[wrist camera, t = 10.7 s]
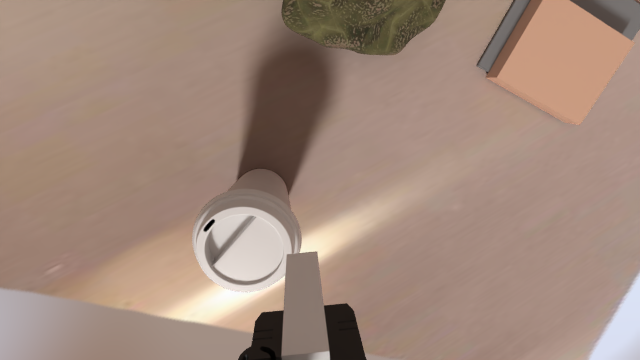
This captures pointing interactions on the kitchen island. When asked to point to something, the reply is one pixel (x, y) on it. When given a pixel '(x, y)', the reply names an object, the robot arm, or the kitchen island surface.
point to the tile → (559, 58)
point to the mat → (603, 3)
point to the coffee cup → (247, 233)
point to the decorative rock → (361, 22)
